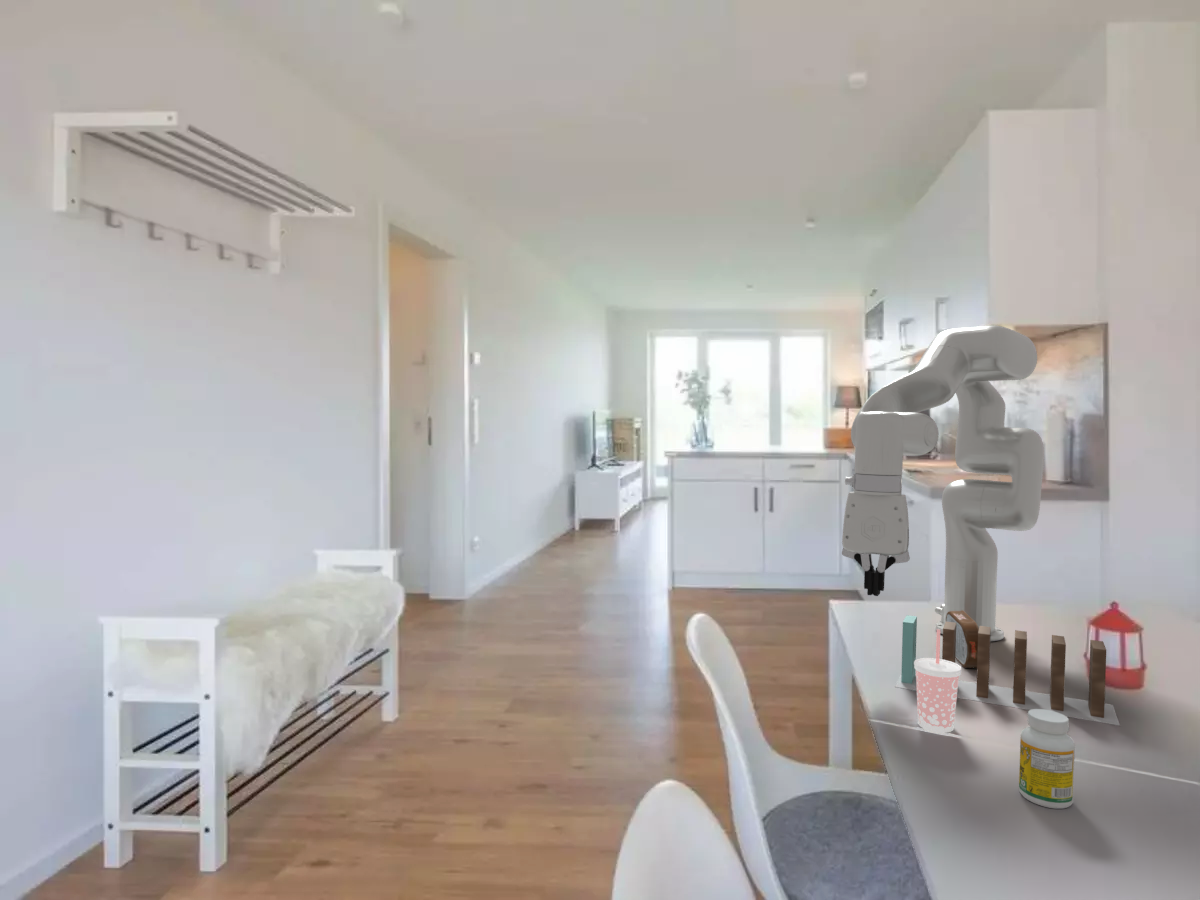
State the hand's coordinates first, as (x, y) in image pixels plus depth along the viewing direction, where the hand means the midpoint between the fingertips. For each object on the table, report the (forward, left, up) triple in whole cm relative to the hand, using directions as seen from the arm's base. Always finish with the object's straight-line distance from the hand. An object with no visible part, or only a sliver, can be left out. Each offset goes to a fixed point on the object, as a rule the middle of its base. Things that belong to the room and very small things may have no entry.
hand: (873, 594), depth 126 cm
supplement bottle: (+41, -5, -14) cm, 43 cm away
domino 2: (+8, +9, -14) cm, 18 cm away
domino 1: (+3, +5, -14) cm, 15 cm away
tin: (-4, +21, -14) cm, 26 cm away
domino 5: (+18, +20, -14) cm, 30 cm away
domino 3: (+11, +13, -14) cm, 22 cm away
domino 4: (+14, +16, -14) cm, 26 cm away
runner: (+13, +14, -14) cm, 24 cm away
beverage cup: (+21, -4, -14) cm, 25 cm away
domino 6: (+21, +24, -14) cm, 35 cm away
